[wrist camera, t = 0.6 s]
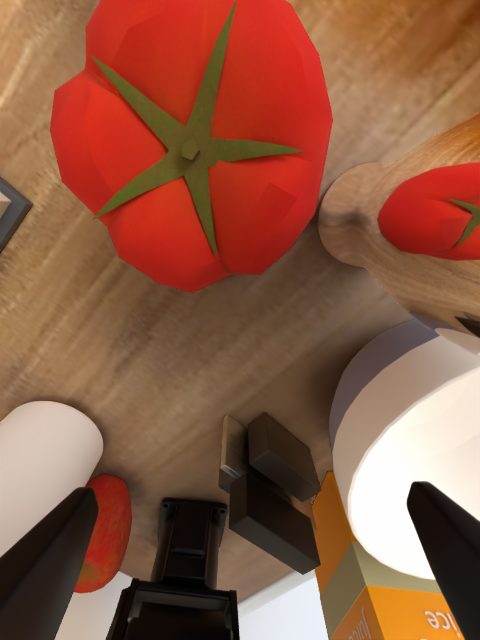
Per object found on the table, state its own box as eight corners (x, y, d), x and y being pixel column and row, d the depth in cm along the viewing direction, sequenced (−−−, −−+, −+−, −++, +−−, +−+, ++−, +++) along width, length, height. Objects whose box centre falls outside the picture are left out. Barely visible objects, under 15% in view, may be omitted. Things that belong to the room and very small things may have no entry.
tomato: (318, 54, 15) (422, -137, 6) (282, 278, 19) (315, 335, 11) (112, 26, 14) (-63, -218, 6) (125, 262, 19) (35, 309, 11)
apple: (157, 498, 28) (130, 596, 21) (102, 513, 29) (58, 612, 22) (124, 453, 26) (82, 547, 19) (66, 471, 26) (5, 567, 19)
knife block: (310, 449, 25) (322, 490, 22) (266, 478, 27) (271, 522, 23) (264, 411, 24) (269, 449, 20) (220, 445, 25) (218, 486, 21)
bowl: (395, 235, 18) (543, 265, 10) (556, 343, 21) (779, 441, 13) (266, 407, 24) (283, 530, 15) (410, 474, 27) (495, 608, 18)
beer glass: (289, 202, 18) (482, 199, 4) (394, 126, 16) (1377, -361, 2) (341, 290, 20) (584, 497, 6) (438, 230, 18) (1068, 317, 4)
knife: (308, 470, 26) (335, 574, 19) (295, 479, 27) (316, 584, 19) (232, 410, 24) (229, 504, 16) (218, 421, 24) (210, 517, 17)
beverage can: (49, 477, 27) (-87, 673, 15) (-11, 413, 24) (-229, 598, 13) (124, 452, 25) (36, 645, 14) (71, 382, 23) (-90, 557, 11)
